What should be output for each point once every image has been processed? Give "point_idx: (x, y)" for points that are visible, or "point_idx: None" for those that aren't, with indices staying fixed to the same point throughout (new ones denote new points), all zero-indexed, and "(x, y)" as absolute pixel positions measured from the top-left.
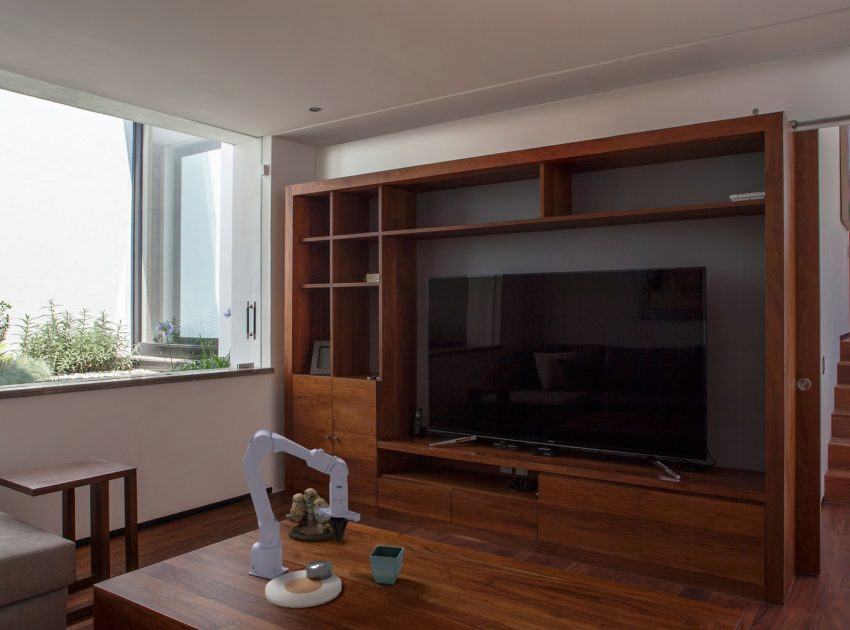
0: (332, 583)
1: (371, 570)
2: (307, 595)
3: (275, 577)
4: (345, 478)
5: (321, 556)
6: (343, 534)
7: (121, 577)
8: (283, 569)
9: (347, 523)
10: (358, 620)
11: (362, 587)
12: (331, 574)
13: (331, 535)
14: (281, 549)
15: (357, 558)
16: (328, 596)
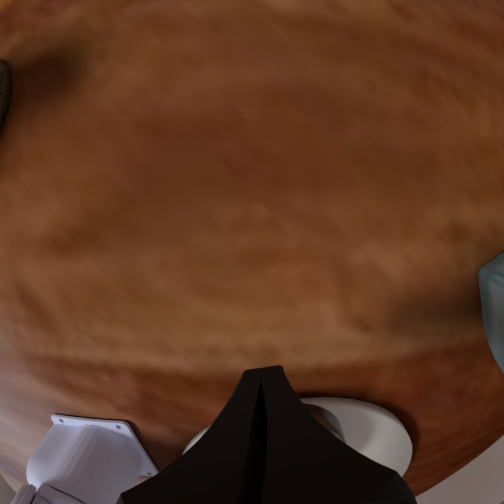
0: (375, 445)
1: (500, 367)
2: None
3: (154, 466)
4: None
5: (95, 258)
6: (292, 390)
7: (9, 484)
8: (122, 434)
9: (355, 451)
10: (482, 449)
11: (452, 372)
12: (342, 431)
13: (2, 85)
14: (108, 500)
15: (265, 162)
16: (402, 474)
